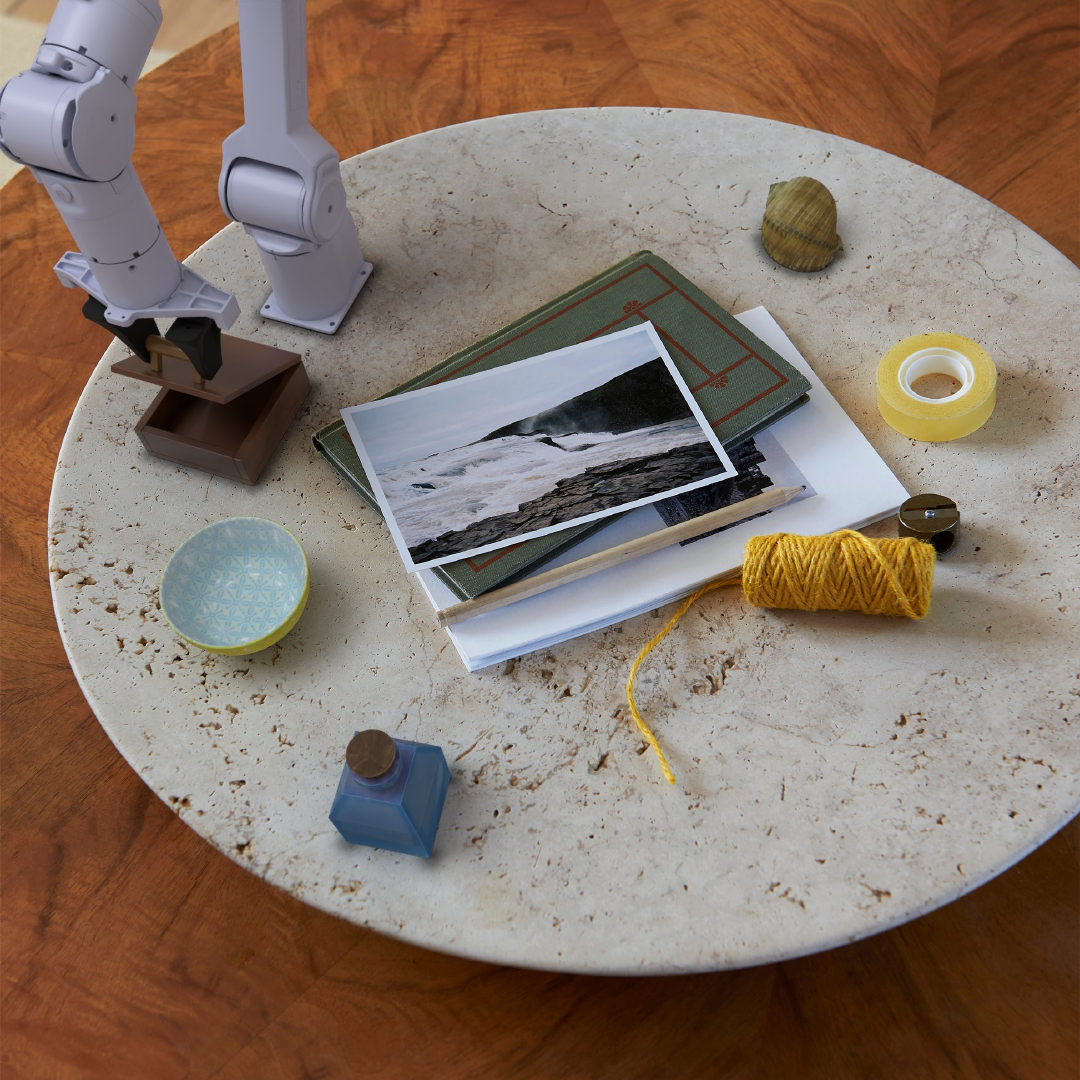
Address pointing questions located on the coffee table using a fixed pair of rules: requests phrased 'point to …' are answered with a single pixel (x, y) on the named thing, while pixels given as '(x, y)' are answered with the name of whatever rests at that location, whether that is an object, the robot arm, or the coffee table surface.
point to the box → (224, 426)
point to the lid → (235, 377)
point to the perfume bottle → (391, 793)
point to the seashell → (801, 224)
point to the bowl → (235, 585)
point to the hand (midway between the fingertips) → (183, 362)
